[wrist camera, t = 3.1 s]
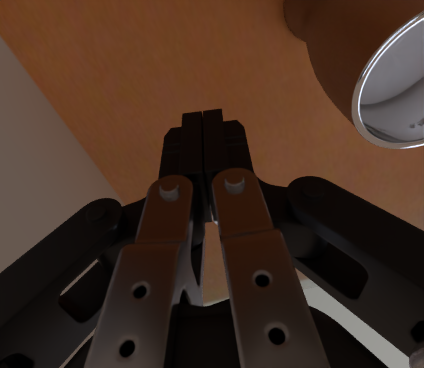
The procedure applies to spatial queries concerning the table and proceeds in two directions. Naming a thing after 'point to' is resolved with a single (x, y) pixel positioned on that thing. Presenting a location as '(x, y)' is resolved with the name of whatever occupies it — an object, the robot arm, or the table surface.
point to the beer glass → (368, 63)
